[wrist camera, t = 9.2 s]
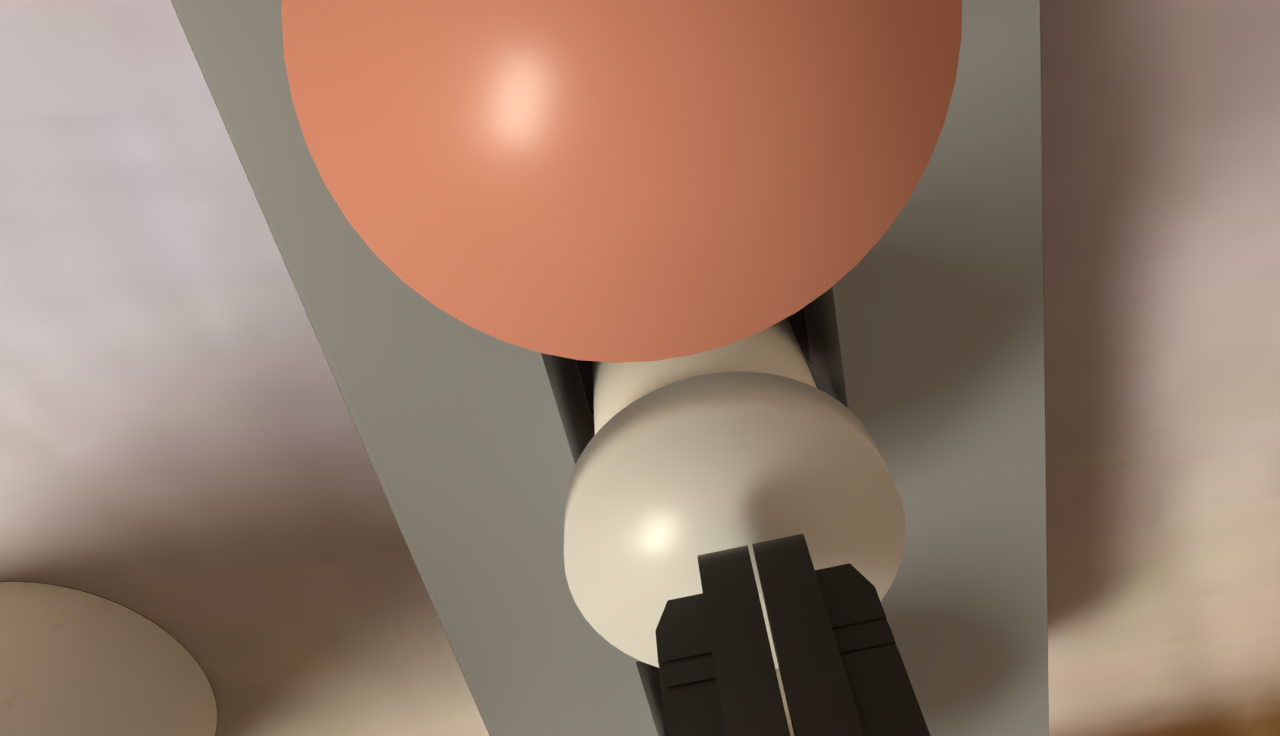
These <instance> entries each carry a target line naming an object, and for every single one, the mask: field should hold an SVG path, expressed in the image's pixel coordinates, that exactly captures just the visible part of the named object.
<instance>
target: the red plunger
mask: <svg viewBox="0 0 1280 736" xmlns="http://www.w3.org/2000/svg"><path fill="white" fill-rule="evenodd" d="M281 15H282V32H283V48H284V60H285V65H286V71H287V76H288V81H289V86H290V92H291V97H292V102H293V105H294V108H295V112H296V115H297V118H298V121H299V124H300V127H301V130H302V133H303V136H304V139H305V142H306V145H307V148H308V150H309V152H310V154H311V156H312V158H313V160H314V162H315V165H316V167H317V169H318V171H319V173H320V175H321V177H322V180H323V182H324V184H325V186H326V187H327V189H328V190H329V192H330V194H331V195H332V197H333V198H334V200H335V202H336V203H337V205H338V206H339V208H340V210H341V211H342V213H343V214H344V216H345V217H346V219H347V221H348V222H349V223H350V224H351V226H352V227H353V228H354V229H355V231H356V232H357V233H358V234H359V236H360V237H361V238H362V239H363V240H364V242H365V243H366V244H367V245H368V247H369V248H370V249H371V250H372V252H373V253H374V254H375V255H376V256H377V257H378V258H379V259H380V260H381V261H382V262H383V263H384V264H385V265H386V266H388V267H389V268H390V269H391V270H392V271H393V272H394V273H395V274H396V275H397V276H398V277H399V278H400V279H401V280H402V281H403V282H404V283H406V284H407V285H408V286H410V287H411V288H412V289H413V290H415V291H416V292H417V293H419V294H420V295H421V296H423V297H424V298H425V299H427V300H428V301H429V302H431V303H432V304H433V305H434V306H436V307H438V308H439V309H441V310H443V311H444V312H446V313H448V314H449V315H451V316H453V317H455V318H456V319H458V320H460V321H461V322H463V323H465V324H466V325H468V326H470V327H472V328H475V329H477V330H479V331H481V332H484V333H486V334H488V335H490V336H493V337H495V338H497V339H499V340H502V341H504V342H507V343H510V344H513V345H517V346H520V347H523V348H526V349H530V350H533V351H536V352H539V353H543V354H549V355H554V356H559V357H565V358H570V359H575V360H584V361H598V362H612V363H621V362H645V361H657V360H664V359H670V358H676V357H683V356H689V355H693V354H697V353H701V352H704V351H708V350H711V349H715V348H719V347H722V346H726V345H729V344H731V343H734V342H736V341H739V340H741V339H744V338H746V337H748V336H751V335H753V334H756V333H758V332H761V331H763V330H765V329H767V328H769V327H770V326H772V325H774V324H776V323H778V322H780V321H782V320H783V319H785V318H787V317H789V316H791V315H793V314H794V313H796V312H798V311H799V310H801V309H802V308H803V307H805V306H806V305H808V304H809V303H810V302H812V301H813V300H815V299H816V298H818V297H819V296H820V295H822V294H823V293H825V292H826V291H828V290H829V289H830V288H831V287H832V286H833V285H834V284H836V283H837V282H838V281H839V280H840V279H841V278H842V277H844V276H845V275H846V274H847V273H848V272H849V271H850V270H851V269H853V268H854V267H855V266H856V265H857V264H858V263H859V262H860V261H861V260H862V259H863V257H864V256H865V255H866V254H867V253H868V252H869V251H870V250H871V249H872V247H873V246H874V245H875V244H876V243H877V242H878V241H879V240H880V238H881V237H882V236H883V235H884V234H885V233H886V231H887V230H888V228H889V227H890V226H891V224H892V223H893V221H894V220H895V218H896V217H897V216H898V214H899V213H900V211H901V210H902V209H903V207H904V206H905V204H906V203H907V201H908V200H909V198H910V196H911V194H912V193H913V191H914V189H915V187H916V185H917V183H918V182H919V180H920V178H921V176H922V174H923V172H924V171H925V169H926V167H927V165H928V163H929V161H930V158H931V156H932V153H933V151H934V148H935V146H936V143H937V141H938V138H939V135H940V133H941V130H942V128H943V125H944V122H945V119H946V115H947V111H948V107H949V104H950V100H951V96H952V92H953V89H954V85H955V81H956V73H957V66H958V59H959V52H960V45H961V37H962V0H282V7H281Z"/></svg>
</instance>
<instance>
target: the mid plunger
mask: <svg viewBox="0 0 1280 736" xmlns="http://www.w3.org/2000/svg"><path fill="white" fill-rule="evenodd" d="M592 366H593V397H594V429H595V436H594V437H593V438H592V439H591V440H590V442H589V443H588V444H587V446H586V448H585V449H584V451H583V452H582V454H581V456H580V457H579V459H578V461H577V463H576V465H575V468H574V470H573V472H572V474H571V477H570V481H569V484H568V488H567V492H566V499H565V510H564V565H565V574H566V578H567V582H568V586H569V589H570V592H571V594H572V596H573V598H574V601H575V603H576V605H577V607H578V608H579V610H580V611H581V613H582V614H583V616H584V618H585V619H586V620H587V621H588V622H589V624H590V625H591V626H592V627H593V628H594V629H595V630H596V632H597V633H599V634H600V635H601V636H602V637H603V638H604V639H606V640H607V641H608V642H609V643H610V644H612V645H613V646H615V647H616V648H618V649H619V650H621V651H622V652H624V653H625V654H627V655H629V656H631V657H633V658H635V659H637V660H640V661H642V662H644V663H647V664H649V665H652V666H655V667H658V668H659V664H658V655H657V644H656V633H655V631H656V628H657V626H658V623H659V621H660V618H661V616H662V613H663V611H664V608H665V606H666V603H667V601H668V600H672V599H677V598H682V597H687V596H692V595H697V594H702V593H703V591H702V585H701V579H700V572H699V566H698V558H697V556H698V555H702V554H707V553H712V552H717V551H722V550H727V549H731V548H736V547H741V546H746V545H748V549H749V553H750V558H751V562H752V567H753V571H754V575H755V580H756V584H757V589H758V593H759V598H760V602H761V607H762V611H763V616H764V620H765V625H766V629H767V633H768V638H769V642H770V647H771V651H772V656H773V660H774V665H775V669H778V668H779V667H778V662H777V658H776V653H775V649H774V644H773V640H772V635H771V631H770V626H769V621H768V617H767V612H766V607H765V602H764V598H763V593H762V588H761V584H760V579H759V574H758V569H757V565H756V560H755V555H754V551H753V546H752V544H755V543H759V542H764V541H769V540H774V539H779V538H784V537H789V536H794V535H798V534H803V535H804V537H805V540H806V543H807V547H808V550H809V553H810V557H811V560H812V563H813V567H814V570H819V569H824V568H829V567H833V566H838V565H843V564H848V563H850V564H851V565H852V566H853V567H854V568H856V569H857V570H858V571H859V572H860V573H861V574H862V575H863V576H864V577H865V578H866V579H867V580H868V581H869V582H871V583H872V584H873V585H874V586H875V588H876V591H877V593H878V596H879V599H880V601H881V600H882V599H883V597H884V596H885V594H886V593H887V591H888V590H889V588H890V586H891V584H892V582H893V580H894V578H895V576H896V574H897V572H898V569H899V566H900V563H901V559H902V556H903V552H904V545H905V538H906V525H905V515H904V510H903V504H902V501H901V498H900V495H899V493H898V490H897V487H896V485H895V483H894V481H893V478H892V476H891V474H890V472H889V470H888V468H887V466H886V463H885V461H884V459H883V457H882V455H881V453H880V451H879V449H878V446H877V445H876V443H875V441H874V439H873V438H872V436H871V434H870V433H869V431H868V429H867V428H866V427H865V426H864V425H863V423H862V422H861V421H860V420H859V419H858V417H857V416H856V415H855V414H853V413H852V412H851V411H850V410H849V409H848V408H847V407H846V406H844V405H843V404H842V403H841V402H839V401H838V400H836V399H835V398H833V397H832V396H830V395H828V394H827V393H825V392H823V391H821V390H819V389H817V387H816V384H815V382H814V379H813V377H812V375H811V372H810V370H809V367H808V365H807V362H806V360H805V358H804V355H803V353H802V350H801V348H800V345H799V343H798V340H797V338H796V336H795V333H794V331H793V328H792V326H791V323H790V321H789V319H788V317H787V318H785V319H783V320H782V321H780V322H778V323H776V324H774V325H772V326H770V327H769V328H767V329H765V330H763V331H761V332H758V333H756V334H753V335H751V336H748V337H746V338H744V339H741V340H739V341H736V342H734V343H731V344H729V345H726V346H722V347H719V348H715V349H711V350H708V351H704V352H701V353H697V354H693V355H689V356H683V357H676V358H670V359H664V360H657V361H645V362H621V363H612V362H598V361H592Z"/></svg>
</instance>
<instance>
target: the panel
mask: <svg viewBox="0 0 1280 736" xmlns="http://www.w3.org/2000/svg"><path fill="white" fill-rule="evenodd" d="M171 2H172V5H173V7H174V9H175V12H176V14H177V16H178V19H179V21H180V23H181V25H182V28H183V30H184V32H185V35H186V37H187V39H188V42H189V44H190V46H191V48H192V51H193V53H194V55H195V58H196V60H197V62H198V65H199V67H200V69H201V72H202V74H203V76H204V78H205V81H206V83H207V85H208V88H209V90H210V92H211V95H212V97H213V99H214V101H215V104H216V106H217V108H218V111H219V113H220V115H221V118H222V120H223V122H224V125H225V127H226V129H227V131H228V134H229V136H230V138H231V141H232V143H233V145H234V148H235V150H236V152H237V155H238V157H239V159H240V161H241V164H242V166H243V168H244V171H245V173H246V175H247V178H248V180H249V182H250V184H251V187H252V189H253V191H254V194H255V196H256V198H257V201H258V203H259V205H260V208H261V210H262V212H263V214H264V217H265V219H266V221H267V224H268V226H269V228H270V231H271V233H272V235H273V237H274V240H275V242H276V244H277V247H278V249H279V251H280V254H281V256H282V258H283V261H284V263H285V265H286V267H287V270H288V272H289V274H290V277H291V279H292V281H293V284H294V286H295V288H296V291H297V293H298V295H299V297H300V300H301V302H302V304H303V307H304V309H305V311H306V314H307V316H308V318H309V320H310V323H311V325H312V327H313V330H314V332H315V334H316V337H317V339H318V341H319V344H320V346H321V348H322V350H323V353H324V355H325V357H326V360H327V362H328V364H329V367H330V369H331V371H332V373H333V376H334V378H335V380H336V383H337V385H338V387H339V390H340V392H341V394H342V397H343V399H344V401H345V403H346V406H347V408H348V410H349V413H350V415H351V417H352V420H353V422H354V424H355V427H356V429H357V431H358V433H359V436H360V438H361V440H362V443H363V445H364V447H365V450H366V452H367V454H368V456H369V459H370V461H371V463H372V466H373V468H374V470H375V473H376V475H377V477H378V480H379V482H380V484H381V486H382V489H383V491H384V493H385V496H386V498H387V500H388V503H389V505H390V507H391V509H392V512H393V514H394V516H395V519H396V521H397V523H398V526H399V528H400V530H401V533H402V535H403V537H404V539H405V542H406V544H407V546H408V549H409V551H410V553H411V556H412V558H413V560H414V562H415V565H416V567H417V569H418V572H419V574H420V576H421V579H422V581H423V583H424V586H425V588H426V590H427V592H428V595H429V597H430V599H431V602H432V604H433V606H434V609H435V611H436V613H437V616H438V618H439V620H440V622H441V625H442V627H443V629H444V632H445V634H446V636H447V639H448V641H449V643H450V645H451V648H452V650H453V652H454V655H455V657H456V659H457V662H458V664H459V666H460V669H461V671H462V673H463V675H464V678H465V680H466V682H467V685H468V687H469V689H470V692H471V694H472V696H473V698H474V701H475V703H476V705H477V708H478V710H479V712H480V715H481V717H482V719H483V722H484V724H485V726H486V728H487V731H488V733H489V735H490V736H665V732H664V721H663V710H662V699H661V695H662V693H661V688H660V677H659V668H658V667H655V666H652V665H649V664H647V663H644V662H642V661H640V660H637V659H635V658H633V657H631V656H629V655H627V654H625V653H624V652H622V651H621V650H619V649H618V648H616V647H615V646H613V645H612V644H610V643H609V642H608V641H607V640H606V639H604V638H603V637H602V636H601V635H600V634H599V633H597V632H596V630H595V629H594V628H593V627H592V626H591V625H590V624H589V622H588V621H587V620H586V619H585V618H584V616H583V614H582V613H581V611H580V610H579V608H578V607H577V605H576V603H575V601H574V598H573V596H572V594H571V592H570V589H569V586H568V582H567V578H566V574H565V565H564V510H565V499H566V492H567V488H568V484H569V481H570V477H571V474H572V472H573V470H574V468H575V465H576V463H577V461H578V459H579V457H580V456H581V454H582V452H583V451H584V449H585V448H586V446H587V444H588V443H589V442H590V440H591V439H592V438H593V437H594V436H595V429H594V421H593V418H592V414H591V411H590V408H589V404H588V401H587V397H586V394H585V390H584V387H583V383H582V380H581V376H580V373H579V369H578V366H577V362H576V360H575V359H570V358H565V357H559V356H554V355H549V354H543V353H539V352H536V351H533V350H530V349H526V348H523V347H520V346H517V345H513V344H510V343H507V342H504V341H502V340H499V339H497V338H495V337H493V336H490V335H488V334H486V333H484V332H481V331H479V330H477V329H475V328H472V327H470V326H468V325H466V324H465V323H463V322H461V321H460V320H458V319H456V318H455V317H453V316H451V315H449V314H448V313H446V312H444V311H443V310H441V309H439V308H438V307H436V306H434V305H433V304H432V303H431V302H429V301H428V300H427V299H425V298H424V297H423V296H421V295H420V294H419V293H417V292H416V291H415V290H413V289H412V288H411V287H410V286H408V285H407V284H406V283H404V282H403V281H402V280H401V279H400V278H399V277H398V276H397V275H396V274H395V273H394V272H393V271H392V270H391V269H390V268H389V267H388V266H386V265H385V264H384V263H383V262H382V261H381V260H380V259H379V258H378V257H377V256H376V255H375V254H374V253H373V252H372V250H371V249H370V248H369V247H368V245H367V244H366V243H365V242H364V240H363V239H362V238H361V237H360V236H359V234H358V233H357V232H356V231H355V229H354V228H353V227H352V226H351V224H350V223H349V222H348V221H347V219H346V217H345V216H344V214H343V213H342V211H341V210H340V208H339V206H338V205H337V203H336V202H335V200H334V198H333V197H332V195H331V194H330V192H329V190H328V189H327V187H326V186H325V184H324V182H323V180H322V177H321V175H320V173H319V171H318V169H317V167H316V165H315V162H314V160H313V158H312V156H311V154H310V152H309V150H308V148H307V145H306V142H305V139H304V136H303V133H302V130H301V127H300V124H299V121H298V118H297V115H296V112H295V108H294V105H293V102H292V97H291V92H290V86H289V81H288V76H287V71H286V65H285V60H284V48H283V32H282V15H281V7H282V0H171ZM803 308H804V315H805V322H806V329H807V335H808V342H809V349H810V355H811V362H812V369H813V375H814V382H815V384H816V387H817V389H819V390H821V391H823V392H825V393H827V394H828V395H830V396H832V397H833V398H835V399H836V400H838V401H839V402H841V403H842V404H843V405H844V406H846V407H847V408H848V409H849V410H850V411H851V412H852V413H853V414H855V415H856V416H857V417H858V419H859V420H860V421H861V422H862V423H863V425H864V426H865V427H866V428H867V429H868V431H869V433H870V434H871V436H872V438H873V439H874V441H875V443H876V445H877V446H878V449H879V451H880V453H881V455H882V457H883V459H884V461H885V463H886V466H887V468H888V470H889V472H890V474H891V476H892V478H893V481H894V483H895V485H896V487H897V490H898V493H899V495H900V498H901V501H902V504H903V510H904V515H905V525H906V538H905V545H904V552H903V556H902V559H901V563H900V566H899V569H898V572H897V574H896V576H895V578H894V580H893V582H892V584H891V586H890V588H889V590H888V591H887V593H886V594H885V596H884V597H883V599H882V600H881V604H882V607H883V610H884V612H885V615H886V618H887V622H888V623H889V626H890V628H891V631H892V634H893V636H894V639H895V642H896V646H897V648H898V650H899V652H900V655H901V658H902V660H903V663H904V666H905V668H906V671H907V674H908V677H909V679H910V682H911V685H912V687H913V690H914V693H915V695H916V698H917V701H918V703H919V706H920V709H921V711H922V714H923V717H924V719H925V722H926V725H927V727H928V730H929V733H930V736H1049V704H1048V623H1047V542H1046V460H1045V379H1044V298H1043V216H1042V135H1041V54H1040V0H962V37H961V45H960V52H959V59H958V66H957V73H956V81H955V85H954V89H953V92H952V96H951V100H950V104H949V107H948V111H947V115H946V119H945V122H944V125H943V128H942V130H941V133H940V135H939V138H938V141H937V143H936V146H935V148H934V151H933V153H932V156H931V158H930V161H929V163H928V165H927V167H926V169H925V171H924V172H923V174H922V176H921V178H920V180H919V182H918V183H917V185H916V187H915V189H914V191H913V193H912V194H911V196H910V198H909V200H908V201H907V203H906V204H905V206H904V207H903V209H902V210H901V211H900V213H899V214H898V216H897V217H896V218H895V220H894V221H893V223H892V224H891V226H890V227H889V228H888V230H887V231H886V233H885V234H884V235H883V236H882V237H881V238H880V240H879V241H878V242H877V243H876V244H875V245H874V246H873V247H872V249H871V250H870V251H869V252H868V253H867V254H866V255H865V256H864V257H863V259H862V260H861V261H860V262H859V263H858V264H857V265H856V266H855V267H854V268H853V269H851V270H850V271H849V272H848V273H847V274H846V275H845V276H844V277H842V278H841V279H840V280H839V281H838V282H837V283H836V284H834V285H833V286H832V287H831V288H830V289H829V290H828V291H826V292H825V293H823V294H822V295H820V296H819V297H818V298H816V299H815V300H813V301H812V302H810V303H809V304H808V305H806V306H805V307H803Z"/></svg>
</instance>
